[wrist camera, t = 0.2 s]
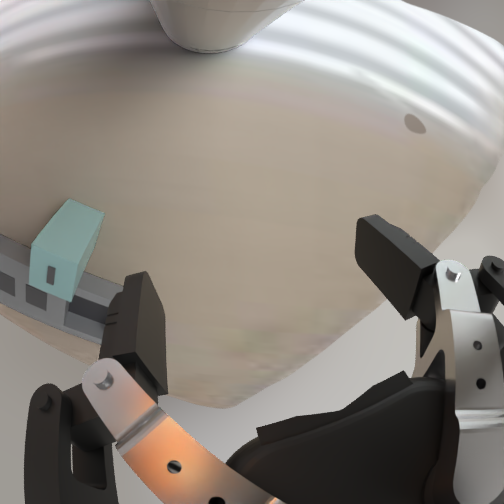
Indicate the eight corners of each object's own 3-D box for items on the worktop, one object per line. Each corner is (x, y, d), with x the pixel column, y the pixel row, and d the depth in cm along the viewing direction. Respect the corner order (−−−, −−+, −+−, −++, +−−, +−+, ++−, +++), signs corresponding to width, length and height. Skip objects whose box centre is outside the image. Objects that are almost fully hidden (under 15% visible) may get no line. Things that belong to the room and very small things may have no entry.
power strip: (-3, 282, 26) (-13, 299, 23) (-4, 231, 22) (-18, 247, 19) (126, 335, 36) (124, 355, 33) (144, 293, 32) (141, 314, 29)
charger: (69, 198, 24) (30, 245, 16) (105, 213, 26) (77, 265, 18) (60, 233, 25) (28, 285, 18) (94, 246, 27) (70, 303, 20)
